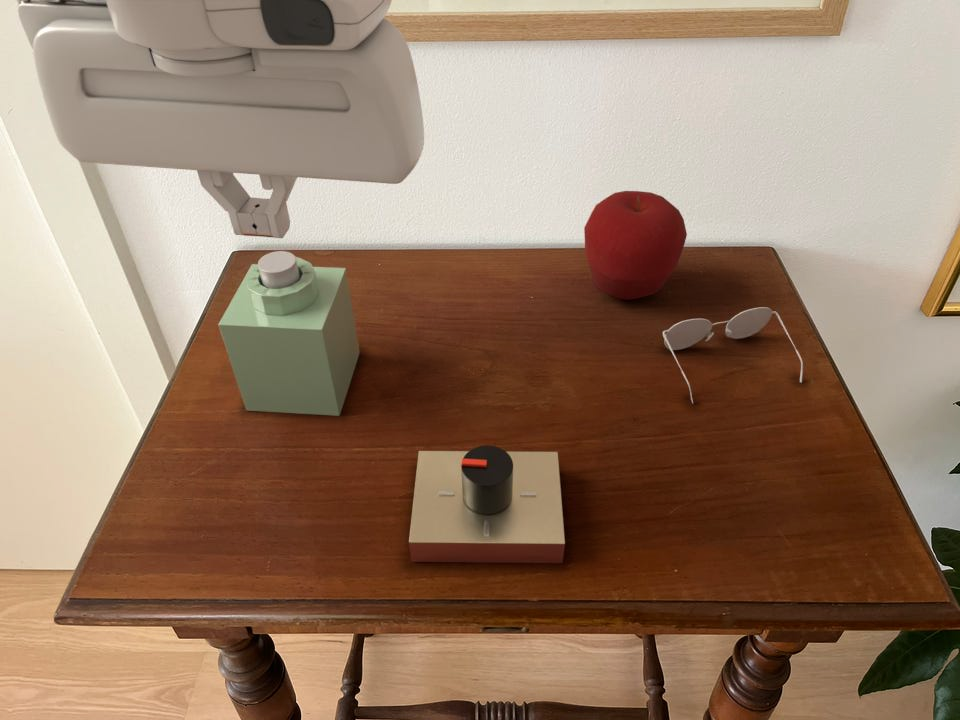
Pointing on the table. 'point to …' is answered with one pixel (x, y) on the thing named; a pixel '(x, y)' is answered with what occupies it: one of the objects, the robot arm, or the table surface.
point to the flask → (293, 341)
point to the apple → (633, 243)
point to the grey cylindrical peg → (278, 270)
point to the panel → (487, 537)
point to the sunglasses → (736, 328)
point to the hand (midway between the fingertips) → (263, 231)
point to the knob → (487, 479)
